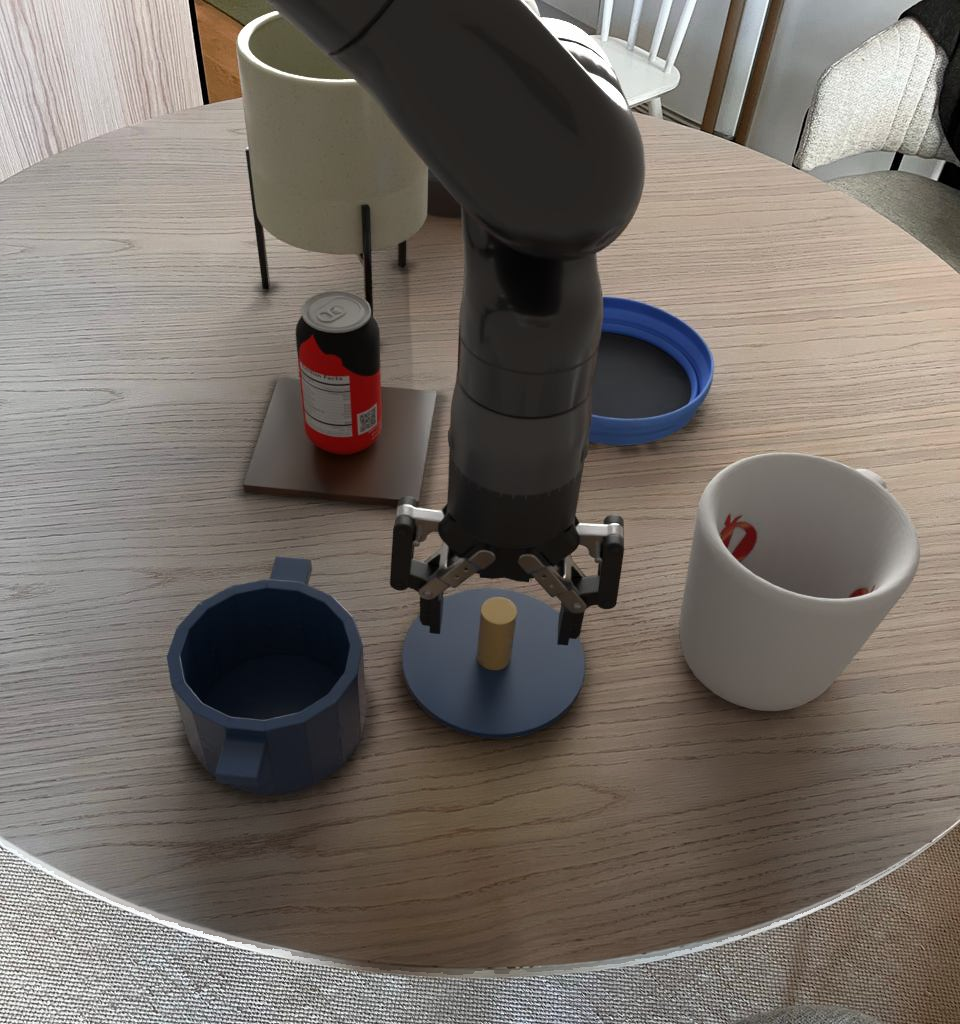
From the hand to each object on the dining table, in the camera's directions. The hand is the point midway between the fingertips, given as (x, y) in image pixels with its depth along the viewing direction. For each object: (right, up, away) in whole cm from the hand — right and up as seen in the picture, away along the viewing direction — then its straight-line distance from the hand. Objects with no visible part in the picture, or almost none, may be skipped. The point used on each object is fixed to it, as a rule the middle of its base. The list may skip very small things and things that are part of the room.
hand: (499, 629), depth 68 cm
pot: (-15, -6, 0) cm, 16 cm away
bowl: (+10, +22, +24) cm, 34 cm away
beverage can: (-13, +16, +17) cm, 26 cm away
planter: (-14, +32, +30) cm, 47 cm away
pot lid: (0, -2, +3) cm, 4 cm away
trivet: (-13, +16, +17) cm, 27 cm away
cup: (+20, -1, +6) cm, 21 cm away
